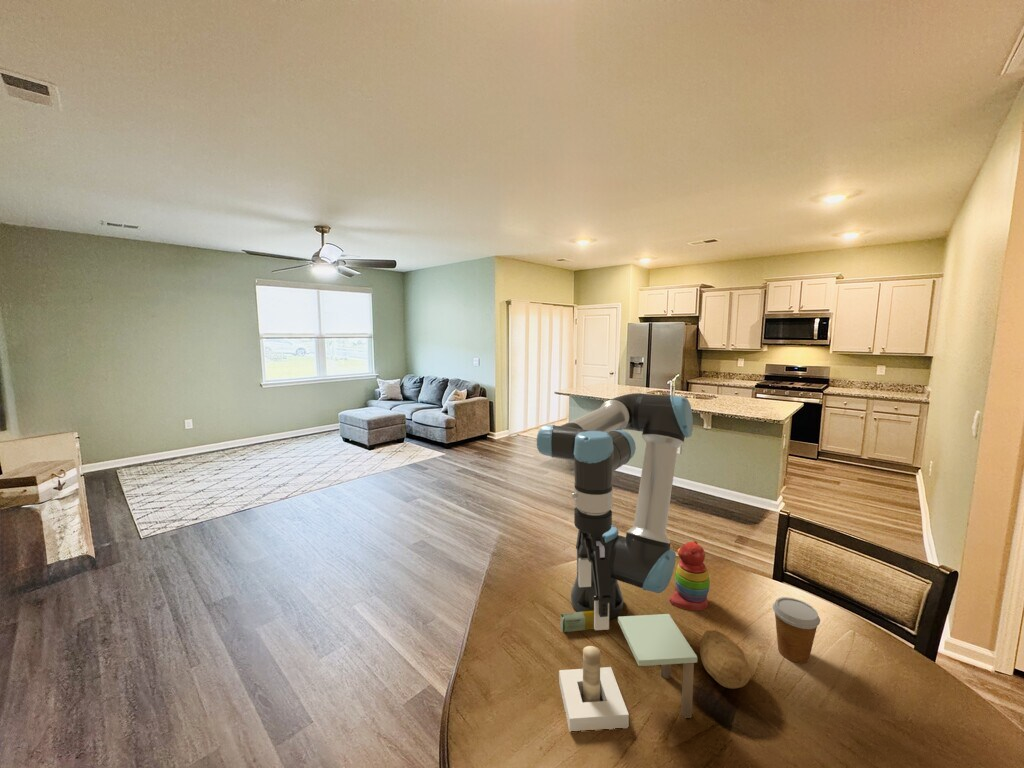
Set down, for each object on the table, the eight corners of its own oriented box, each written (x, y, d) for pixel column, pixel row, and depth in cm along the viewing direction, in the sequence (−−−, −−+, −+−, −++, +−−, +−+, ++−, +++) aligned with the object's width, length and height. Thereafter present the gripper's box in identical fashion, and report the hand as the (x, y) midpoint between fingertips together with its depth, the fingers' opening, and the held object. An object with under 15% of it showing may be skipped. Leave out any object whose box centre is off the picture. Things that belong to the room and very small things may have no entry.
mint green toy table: (617, 673, 96) (618, 616, 94) (667, 669, 96) (668, 613, 95) (637, 725, 83) (638, 660, 81) (694, 720, 84) (697, 656, 82)
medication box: (562, 633, 109) (562, 619, 109) (559, 626, 112) (560, 613, 111) (605, 628, 111) (605, 615, 110) (602, 621, 114) (602, 608, 113)
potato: (728, 652, 102) (730, 622, 101) (761, 702, 88) (763, 668, 87) (688, 652, 102) (689, 622, 101) (715, 702, 88) (716, 667, 87)
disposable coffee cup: (825, 671, 95) (829, 623, 94) (780, 665, 97) (783, 618, 96) (805, 642, 105) (808, 598, 103) (764, 637, 106) (766, 594, 105)
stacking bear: (677, 585, 129) (678, 531, 127) (712, 597, 123) (714, 540, 121) (667, 603, 120) (669, 546, 118) (704, 616, 115) (707, 556, 113)
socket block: (559, 682, 93) (559, 670, 93) (610, 678, 94) (610, 666, 94) (569, 732, 82) (569, 718, 81) (628, 728, 82) (628, 714, 82)
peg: (581, 697, 90) (581, 646, 88) (597, 695, 90) (597, 645, 88) (584, 711, 86) (585, 659, 85) (601, 710, 86) (602, 658, 85)
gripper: (563, 486, 95) (563, 572, 98) (590, 538, 70) (589, 652, 73) (595, 485, 96) (594, 571, 98) (632, 536, 71) (630, 649, 73)
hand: (592, 605), depth 85 cm, fingers open, 13 cm apart
